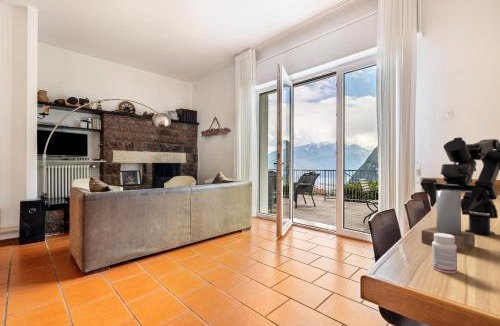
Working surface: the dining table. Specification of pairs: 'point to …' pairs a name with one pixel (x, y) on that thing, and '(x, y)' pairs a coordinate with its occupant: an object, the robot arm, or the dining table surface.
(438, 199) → the grey cylinder
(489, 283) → the dining table surface
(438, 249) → the pill bottle
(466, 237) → the walnut box
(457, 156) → the robot arm
